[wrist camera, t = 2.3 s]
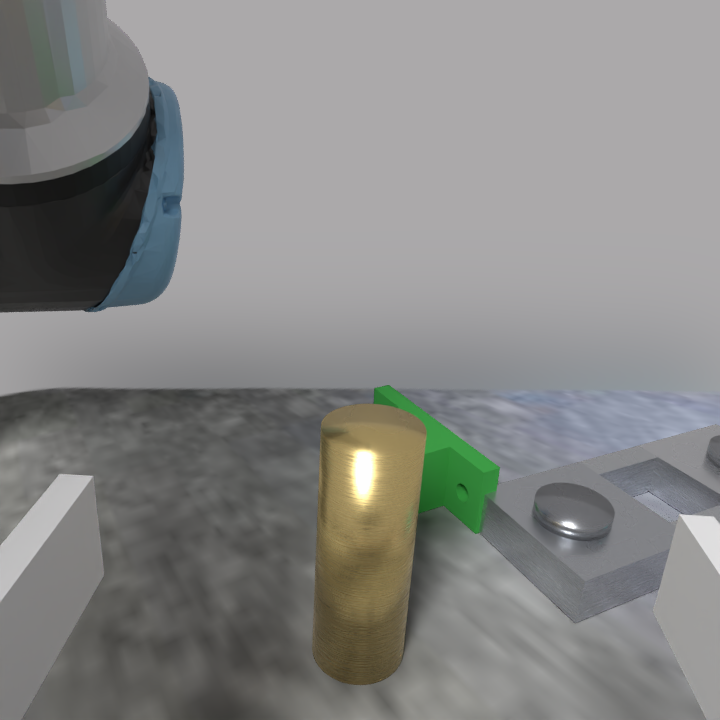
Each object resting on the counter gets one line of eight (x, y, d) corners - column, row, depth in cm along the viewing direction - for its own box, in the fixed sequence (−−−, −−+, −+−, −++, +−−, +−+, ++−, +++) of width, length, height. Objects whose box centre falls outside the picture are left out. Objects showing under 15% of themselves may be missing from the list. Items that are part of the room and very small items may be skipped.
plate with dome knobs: (473, 527, 39) (480, 477, 38) (706, 455, 48) (719, 413, 47) (575, 623, 32) (588, 567, 31) (822, 520, 41) (840, 473, 40)
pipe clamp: (337, 457, 46) (339, 395, 44) (385, 444, 48) (388, 384, 46) (437, 555, 37) (444, 483, 35) (490, 534, 39) (500, 465, 37)
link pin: (297, 630, 31) (304, 413, 27) (375, 604, 33) (392, 397, 29) (337, 698, 28) (350, 464, 24) (420, 665, 30) (447, 442, 25)
